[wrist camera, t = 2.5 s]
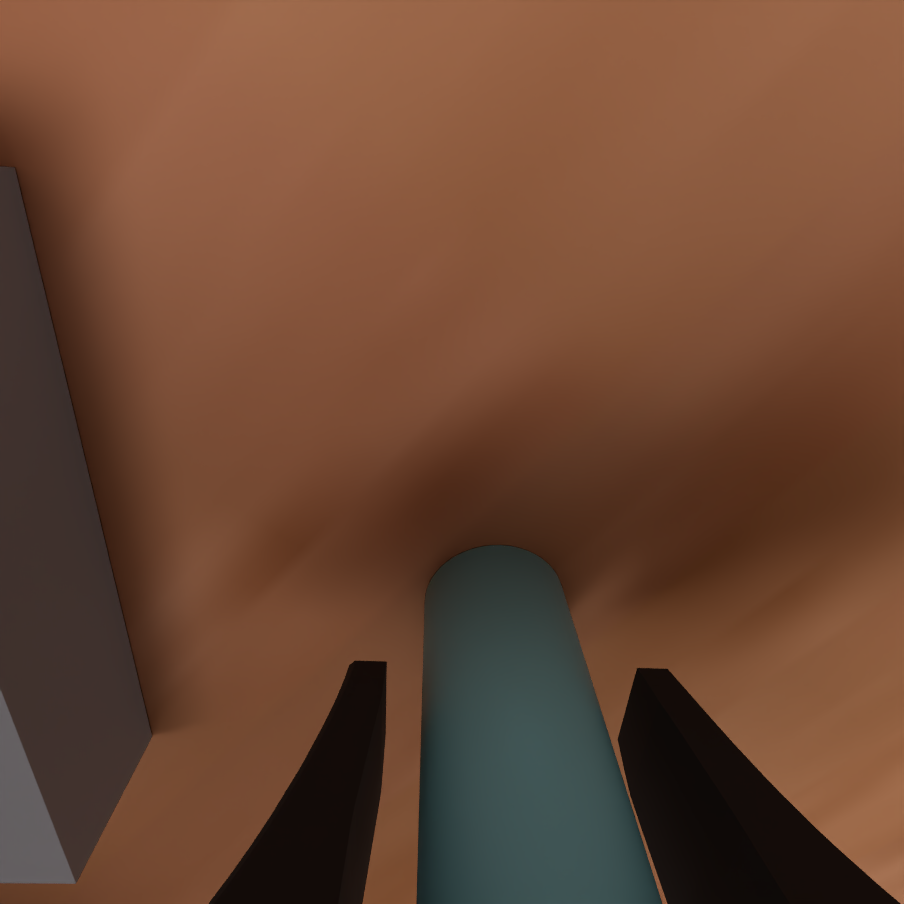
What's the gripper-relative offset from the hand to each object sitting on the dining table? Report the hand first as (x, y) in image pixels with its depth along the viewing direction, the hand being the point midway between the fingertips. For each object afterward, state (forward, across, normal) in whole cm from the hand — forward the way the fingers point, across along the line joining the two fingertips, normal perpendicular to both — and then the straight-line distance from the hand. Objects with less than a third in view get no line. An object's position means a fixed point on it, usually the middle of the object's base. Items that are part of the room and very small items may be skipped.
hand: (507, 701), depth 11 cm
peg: (+3, 0, 0) cm, 3 cm away
